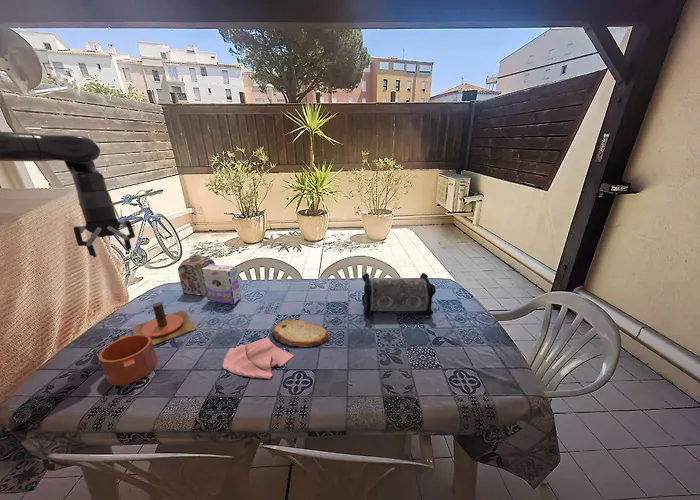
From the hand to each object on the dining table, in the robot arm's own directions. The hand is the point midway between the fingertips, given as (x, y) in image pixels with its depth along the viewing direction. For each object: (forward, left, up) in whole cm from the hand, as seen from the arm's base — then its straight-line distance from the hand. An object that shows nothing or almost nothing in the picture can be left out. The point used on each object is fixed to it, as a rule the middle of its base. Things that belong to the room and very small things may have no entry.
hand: (112, 253), depth 90 cm
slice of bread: (+45, -41, -32) cm, 69 cm away
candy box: (+33, +4, -32) cm, 46 cm away
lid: (+8, -3, -31) cm, 32 cm away
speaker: (+85, -54, -32) cm, 106 cm away
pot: (-3, -21, -32) cm, 38 cm away
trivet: (+8, -3, -32) cm, 33 cm away
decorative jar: (+28, +22, -32) cm, 48 cm away
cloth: (+28, -43, -32) cm, 61 cm away
